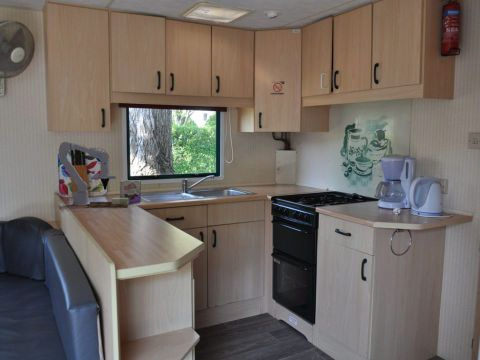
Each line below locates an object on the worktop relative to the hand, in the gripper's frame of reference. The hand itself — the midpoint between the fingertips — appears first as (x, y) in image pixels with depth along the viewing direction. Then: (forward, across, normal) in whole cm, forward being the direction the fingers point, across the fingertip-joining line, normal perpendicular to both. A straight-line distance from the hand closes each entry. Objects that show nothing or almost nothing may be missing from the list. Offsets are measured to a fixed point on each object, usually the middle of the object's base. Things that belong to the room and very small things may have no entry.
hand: (105, 189), depth 294 cm
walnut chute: (+10, +4, -14) cm, 18 cm away
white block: (+9, +8, -14) cm, 19 cm away
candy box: (+11, +16, +4) cm, 20 cm away
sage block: (+9, +13, -14) cm, 22 cm away
